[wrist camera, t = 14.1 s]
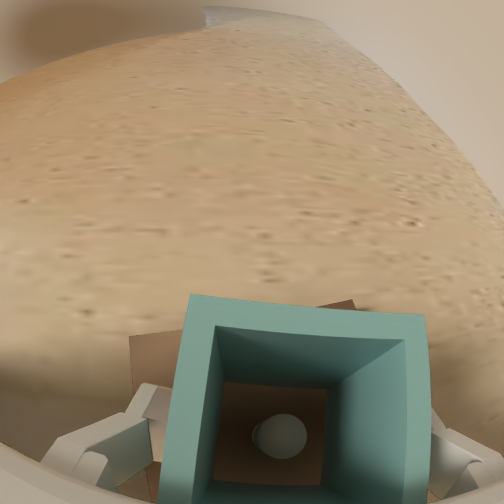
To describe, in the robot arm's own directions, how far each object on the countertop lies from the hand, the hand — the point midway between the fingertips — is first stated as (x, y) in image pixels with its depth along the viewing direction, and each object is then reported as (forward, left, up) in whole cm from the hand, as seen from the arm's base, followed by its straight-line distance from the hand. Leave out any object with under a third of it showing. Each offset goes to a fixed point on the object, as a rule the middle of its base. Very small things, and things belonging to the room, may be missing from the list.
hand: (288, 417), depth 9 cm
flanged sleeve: (-1, 0, -4) cm, 4 cm away
